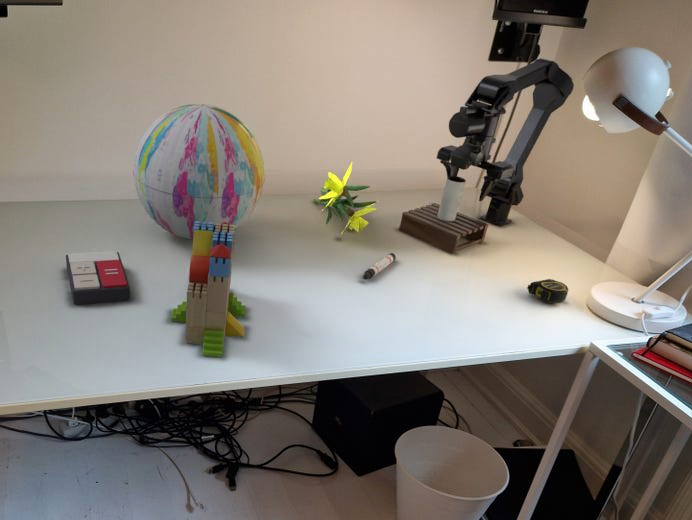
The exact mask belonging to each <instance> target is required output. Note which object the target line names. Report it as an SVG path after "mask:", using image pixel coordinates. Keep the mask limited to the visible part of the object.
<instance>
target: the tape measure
mask: <svg viewBox="0 0 692 520" xmlns="http://www.w3.org/2000/svg"><path fill="white" fill-rule="evenodd" d="M526 289H527V290H528V291H527V292H528V294H530V295H532V296H534V297H536V299H538V300H540V301H542V302H545V303H549V304H561V303H563V302H564V301H566V299H567V296H568V293H569V287H568V286H567V285H566V284H565V283H563V282H561V281H558V280H555V279H551V278H548V279H541V280H536V281H532V282H531V283H530V284H527V287H526Z"/></svg>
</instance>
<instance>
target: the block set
mask: <svg viewBox="0 0 692 520" xmlns="http://www.w3.org/2000/svg"><path fill="white" fill-rule="evenodd" d="M201 226H202V227H201ZM201 226H200V221H195V225H194V233H193V240H192V248H191V249H192V251H191V255H190V261H189V262H190V263H189V272H188V273H189V274H188V285H187V290H186V301H182V303H181V304H178V305H177V308H172V312H171V316H170V321H171V322H176V323H177V322H178V323H185V339H184V340H185V343H186V344H193V345H202V356H205V357H219V358H222V357H223V354H224V353H223V352H224V345H225V336H226V337H235V338H236V337H237V338H244V337H245V327H244V326H243V324H242V323H241V322H239V320H238V319H237V318H241V319H242V318H243V319H245V318H246V311H247V310H246V309H247V306H246V305H243V301H241V300H238V296H234V292H231V291H230V289H231V280H232V269H233V268H232V267H233V259H234V258H233V257H234V244H235V231H236V229H235V225H229V224H228V223H226V222H223V223H221V224H219V223H216V225H215V226H214V223H213V222H209V226H208V227H207V222H203V223H202V225H201Z"/></svg>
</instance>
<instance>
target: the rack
mask: <svg viewBox="0 0 692 520" xmlns="http://www.w3.org/2000/svg"><path fill="white" fill-rule="evenodd" d="M439 207H440V203H436V202H433V203H431V204H426V205H424V206H420V207H416V208H414V209H409V210H408V211H403V212H402V213H401V219H400V223H399V228H398V231H400V232H402V233H404V234H407V235H409V236H411V237H413V238H415V239H417V240H419V241H422V242H424V243H426V244H429V245H431V246H433V247H435V248H438V249H440V250H442V251H444V252H447V253H448V254H451V255H455V254H456V253H457V251H460V250H463V249H465V248H468V247H471V246H474V245H476V244H483V243H484V240H485V237H486V234H487V231H488V228H489V227H490V224H489V223H488V222H487V223H486V222H484V221H483V220H482V221H481V220H479V219H478V218H477V219H476V218H475V217H474V218H473V217H472V216H469V215H466V214H464V213H463V212H462V213H461V212H459V211H457V214H456V218H455V220H454V221H443V220H440V219H439V218H438V217H437V215H438V211H439ZM461 237H464V238H466V239H469V240H470V241H467V242H465V243H461V244H459V241H460V238H461Z"/></svg>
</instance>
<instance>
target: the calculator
mask: <svg viewBox="0 0 692 520" xmlns="http://www.w3.org/2000/svg"><path fill="white" fill-rule="evenodd" d="M65 263H66V272H67V273H66V274H67V278H68V282H69V287H70V293H71V298H72V302H73V304H74V305H85V304H99V303H100V304H101V303H109V302H110V303H111V302H121V301H122V302H123V301H130V300H131V286H130V284H129V280H128V277H127V274H126V271H125V267H124V264H123V262H122V258H121V255H120V252H118V251H116V250H115V251H113V250H111V251H93V252H77V253H76V252H75V253H68V254H66V255H65Z"/></svg>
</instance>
